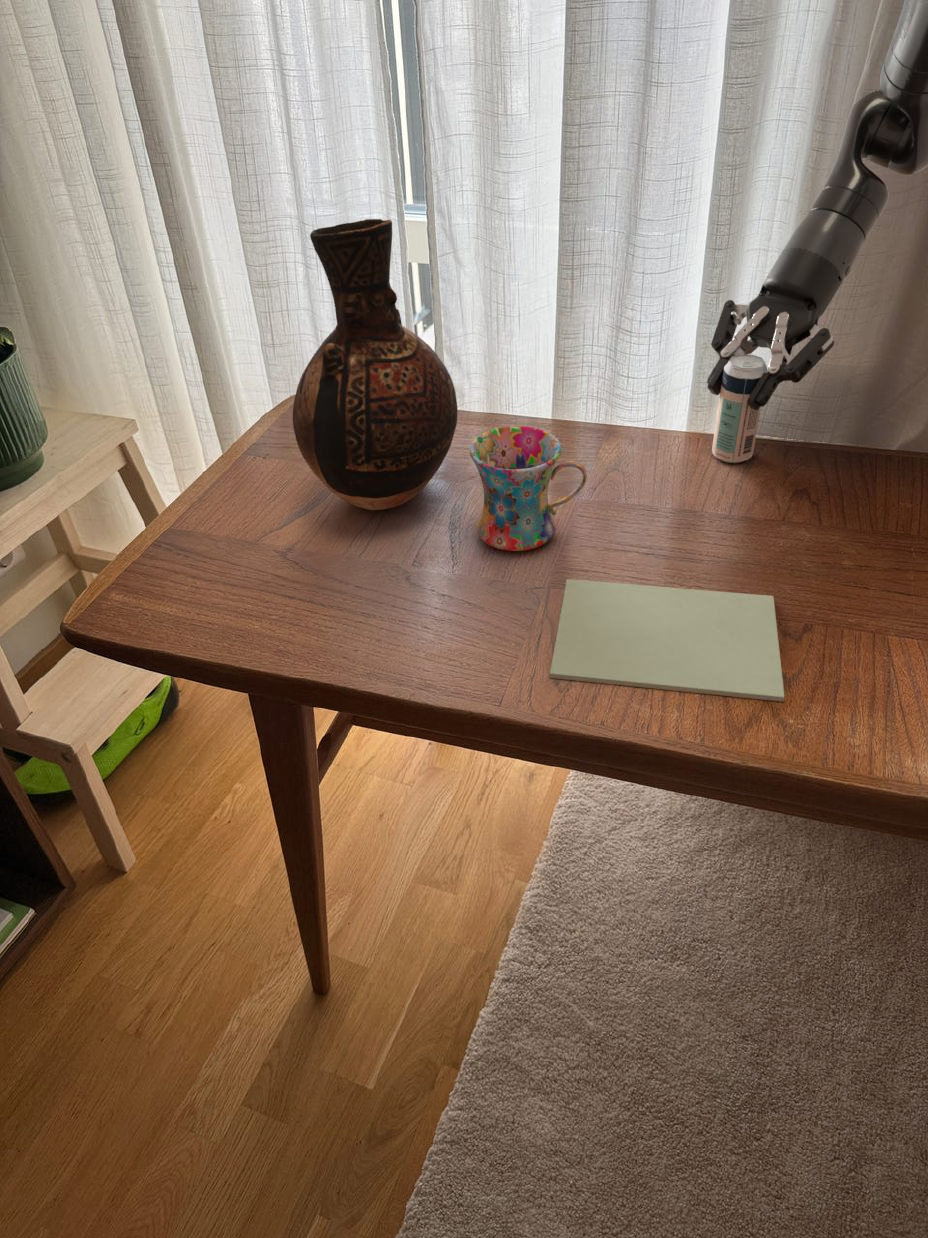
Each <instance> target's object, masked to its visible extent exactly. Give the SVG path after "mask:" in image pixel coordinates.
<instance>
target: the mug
mask: <svg viewBox="0 0 928 1238" xmlns="http://www.w3.org/2000/svg"><path fill="white" fill-rule="evenodd" d="M469 454H470V458H471V459H472V461H473V463H474V465H475V467H476V469H477V471H478V474H479V477H480V480H481V482H482V483H481V484H482V490H483V509H482V513H481V516H480V518H479V519H478V520H477V524H476V531H477V534H478V536H479V538H480V539H481V540H482V541H483V542H484V543H486V544H487V545H489V546H490V547H492V548H495V549H498V550H502V551H508V552H523V551H529V550H533V549H536V548H539V547H541V546H543V545H544V544H546V543H548V541H550V540H551V538H552V537H553V536H554V534H555V531H556V522H555V520H554V518H553V516H556V515H557V511H556V509H554V508H556V507H559V506H561V505H564V504H565V503H567V502H569V501H570V500H572V499H573V498H575V497H576V496H577V495H578V494H579V493H580V492H581V491H582V489H583V488H584V486H585V484H586V482H587V478H588V472H587V469H586V468H585V466H584V465H583V464H582V463H580V462H577V461H574V460H567V461H563V462H561V463H559V464H558V465H557V462H558V461H559V458H560V457H561V454H562V445H561V442H560V441H559V439H558V438H557V437H556V436H555V435H553V434H552V433H550V432H548V431H546V430H544V429H540V428H537V427H532V426H523V425H512V426H504V427H503V426H502V427H498V428H494V429H491V430H488V431H485V432H483V433H481V434H480V435H478V436H477V437H476V438H475V439H473V441H472V442H471V444H470V447H469ZM568 467H572V468H576V469H578V470H579V471H580V473H581V474H582V480H581V481H580V483H579V484H578V485H577V487H576V488H575V489H574V490H573V491H572V492H571V493H569V494H568V495H566V496H565V497H562V498H560V499H557V500H556V501H552V502H550V503H549V499H548V494H549V486H550V481H554V479H555V477H556V474H557V473H558V472H559V471H561V469H564V468H568Z"/></svg>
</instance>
